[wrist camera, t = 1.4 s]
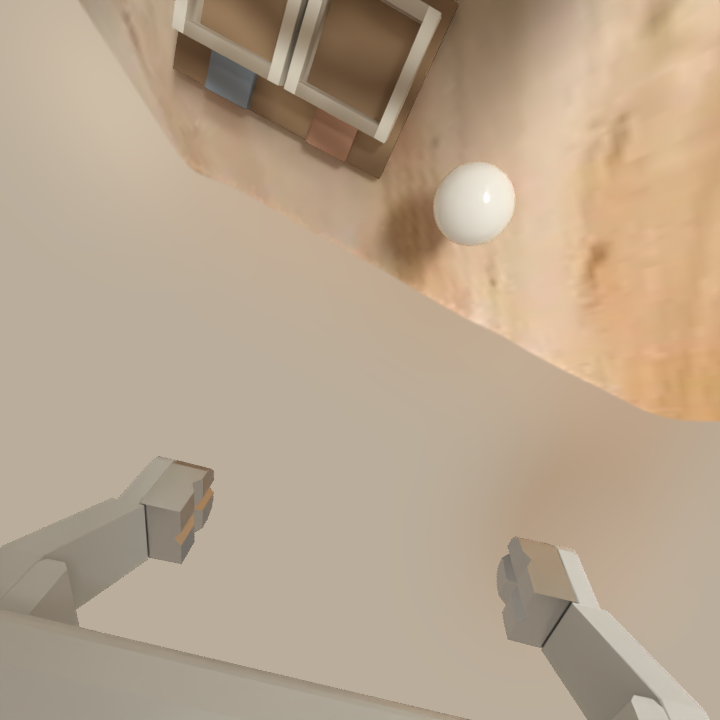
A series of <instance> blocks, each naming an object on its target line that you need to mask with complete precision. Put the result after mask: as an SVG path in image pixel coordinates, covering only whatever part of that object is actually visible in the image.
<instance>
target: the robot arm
mask: <svg viewBox="0 0 720 720" xmlns="http://www.w3.org/2000/svg"><path fill="white" fill-rule="evenodd" d="M213 480H214V471H213V470H212V469H210V468H206V467H202V466H197V465H194V464H190V463H186V462H182V461H178V460H172V459H168V458H164V457H160V456H158V457H156V458H154V459H153V460H152V461H151V462H150V463H149V464H148V465H147V466H146V467H145V469H144V470H143V471H142V472H141V473H140V474H139V475H138V476H137V478H136V479H135V480H134V481H133V482H132V483H131V484H130V485H129V487H128V488H127V489H126V490H125V491H124V492H123V493H122V494H121V495H120V497H119V498H118V499H115V498H110V499H108V500H106V501H104V502H101V503H99V504H97V505H94V506H92V507H90V508H88V509H85V510H83V511H81V512H78V513H76V514H74V515H72V516H69V517H67V518H65V519H63V520H60V521H58V522H56V523H53V524H51V525H49V526H47V527H44V528H42V529H40V530H37V531H35V532H33V533H31V534H28V535H26V536H24V537H22V538H19V539H17V540H15V541H13V542H10V543H8V544H6V545H3V546H2V547H1V548H0V720H469V719H465V718H461V717H457V716H452V715H448V714H444V713H440V712H435V711H431V710H427V709H423V708H419V707H414V706H410V705H406V704H402V703H398V702H393V701H389V700H385V699H381V698H377V697H372V696H368V695H364V694H359V693H355V692H351V691H347V690H342V689H338V688H334V687H330V686H326V685H322V684H317V683H313V682H309V681H304V680H300V679H296V678H292V677H288V676H283V675H279V674H275V673H271V672H266V671H262V670H258V669H254V668H249V667H245V666H241V665H237V664H233V663H228V662H224V661H220V660H216V659H211V658H207V657H203V656H199V655H195V654H190V653H186V652H182V651H178V650H174V649H169V648H165V647H161V646H157V645H153V644H148V643H144V642H140V641H135V640H131V639H127V638H123V637H119V636H115V635H110V634H106V633H101V632H97V631H94V630H89V629H85V628H81V627H79V622H78V618H77V613H76V609H77V608H79V607H80V606H82V605H83V604H85V603H86V602H88V601H89V600H91V599H92V598H93V597H95V596H96V595H98V594H99V593H101V592H102V591H103V590H104V589H106V588H108V587H109V586H111V585H112V584H113V583H115V582H116V581H118V580H119V579H121V578H122V577H124V576H125V575H126V574H128V573H129V572H131V571H132V570H134V569H135V568H136V567H138V566H139V565H141V564H142V563H144V562H145V561H147V560H148V557H149V558H154V559H159V560H165V561H169V562H174V563H179V564H182V562H183V560H184V559H185V557H186V555H187V554H188V552H189V550H190V548H191V547H192V545H193V543H194V532H196V531H198V530H199V529H201V528H203V526H204V524H205V522H206V521H207V519H208V516H209V513H210V511H211V508H212V502H213V491H212V490H211V488H210V485H211V484H212V482H213ZM508 549H509V553H510V554H508V555H506V556H504V557H503V558H502V559H501V561H500V564H499V566H498V572H497V588H498V594H499V596H500V598H501V599H502V600H503V602H504V603H505V604H506V606H505V608H504V610H503V612H502V613H503V619H504V624H505V629H506V634H507V639H508V640H512V641H516V642H520V643H524V644H528V645H531V646H536V647H539V648H542V652H543V653H544V655H545V656H546V658H547V659H548V661H549V662H550V664H551V665H552V667H553V668H554V670H555V671H556V673H557V674H558V676H559V677H560V679H561V680H562V682H563V683H564V685H565V687H566V688H567V689H568V691H569V693H570V694H571V696H572V697H573V698H574V700H575V701H576V703H577V705H578V706H579V708H580V709H581V710H582V712H583V714H584V715H585V717H586V718H587V720H709V718H708V716H707V714H706V712H705V710H704V709H703V708H702V707H701V706H700V705H699V704H698V703H697V702H696V701H695V700H694V699H693V698H692V697H691V696H690V695H689V694H688V693H687V692H686V691H685V690H684V689H683V688H682V687H681V686H680V685H679V684H678V683H677V682H676V681H675V679H673V677H672V676H671V675H669V673H668V672H667V671H666V670H665V669H664V668H663V667H662V666H661V665H660V664H659V663H658V662H657V661H656V660H655V659H654V658H653V657H652V656H651V655H650V654H649V653H648V652H647V651H646V650H645V649H644V648H643V647H642V646H641V645H640V644H639V643H638V642H637V641H636V640H635V639H634V638H633V637H632V636H631V635H630V634H629V633H628V632H627V631H626V630H625V629H624V628H623V627H622V626H621V625H620V624H619V623H618V622H617V621H616V620H615V618H614V617H612V616H611V614H610V613H609V612H608V611H607V610H603V609H600V606H599V604H598V602H597V600H596V597H595V595H594V592H593V590H592V588H591V586H590V583H589V581H588V578H587V576H586V574H585V571H584V569H583V567H582V564H581V562H580V560H579V557H578V555H577V553H576V552H575V551H574V550H573V549H571V548H566V547H561V546H557V545H551V544H548V543H543V542H538V541H533V540H529V539H524V538H519V537H514V538H513V539H511V541H510V543H509V545H508Z"/></svg>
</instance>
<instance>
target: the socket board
mask: <svg viewBox="0 0 720 720" xmlns="http://www.w3.org/2000/svg"><path fill="white" fill-rule="evenodd" d="M457 7H458V3H457V2H455V1H453V0H175V5H174V12H173V20H172V28H174V29H175V30H177V31H178V37H177V44H176V51H175V58H174V65H173V69H175V70H177V71H179V72H181V73H183V74H184V75H186V76H188V77H190V78H192V79H194V80H196V81H198V82H199V83H201V84H203V85H205V88H207V89H208V90H210V91H212V92H214V93H216V94H218V95H220V96H221V97H223V98H225V99H227V100H229V101H231V102H233V103H235V104H236V105H238V106H240V107H242V108H244V109H246V110H247V109H250V110H252V111H254V112H255V113H257V114H259V115H261V116H263V117H265V118H267V119H269V120H270V121H272V122H274V123H276V124H278V125H280V126H282V127H283V128H285V129H287V130H289V131H291V132H293V133H295V134H297V135H298V136H300V137H302V138H304V139H306V142H307V143H309V144H311V145H313V146H315V147H317V148H319V149H321V150H322V151H324V152H326V153H328V154H330V155H332V156H334V157H335V158H337V159H339V160H341V161H343V162H346V161H347V162H349V163H351V164H353V165H354V166H356V167H358V168H360V169H362V170H364V171H366V172H367V173H369V174H371V175H373V176H375V177H377V178H380V176H381V174H382V172H383V170H384V168H385V165H386V163H387V161H388V159H389V157H390V154H391V152H392V150H393V148H394V146H395V143H396V141H397V139H398V137H399V135H400V132H401V130H402V128H403V126H404V124H405V121H406V119H407V117H408V115H409V113H410V110H411V108H412V106H413V104H414V102H415V99H416V97H417V95H418V93H419V90H420V88H421V86H422V84H423V82H424V79H425V77H426V75H427V73H428V71H429V68H430V66H431V64H432V62H433V60H434V57H435V55H436V53H437V51H438V49H439V46H440V44H441V42H442V40H443V38H444V35H445V33H446V31H447V29H448V27H449V24H450V22H451V20H452V18H453V16H454V13H455V11H456V9H457Z"/></svg>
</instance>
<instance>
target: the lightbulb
mask: <svg viewBox="0 0 720 720" xmlns="http://www.w3.org/2000/svg"><path fill="white" fill-rule="evenodd" d="M514 208H515V192H514V188H513V185H512V183H511V181H510V179H509V178H508V176H507V175H506V174H505V173H504V172H503V171H502V170H501V169H500V168H498V167H497V166H495V165H493V164H490V163H486V162H470V163H466V164H463V165H461V166H458V167H457V168H455V169H454V170H452V171H451V172H450V173H448V174H447V175H446V177H445V178H444V179H443V180H442V181H441V183H440V185H439V186H438V188H437V191H436V193H435V197H434V202H433V214H434V219H435V222H436V225H437V227H438V228H439V230H440V231H441V233H442V234H443V235H444V236H445V237H446V238H447V239H449V240H450V241H452V242H454V243H456V244H458V245H462V246H478V245H482V244H485V243H488V242H490V241H491V240H493V239H495V238H496V237H497V236H499V235H500V234H501V233H502V232H503V231H504V230H505V228H506V227H507V225H508V224H509V222H510V220H511V218H512V215H513V212H514Z"/></svg>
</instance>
